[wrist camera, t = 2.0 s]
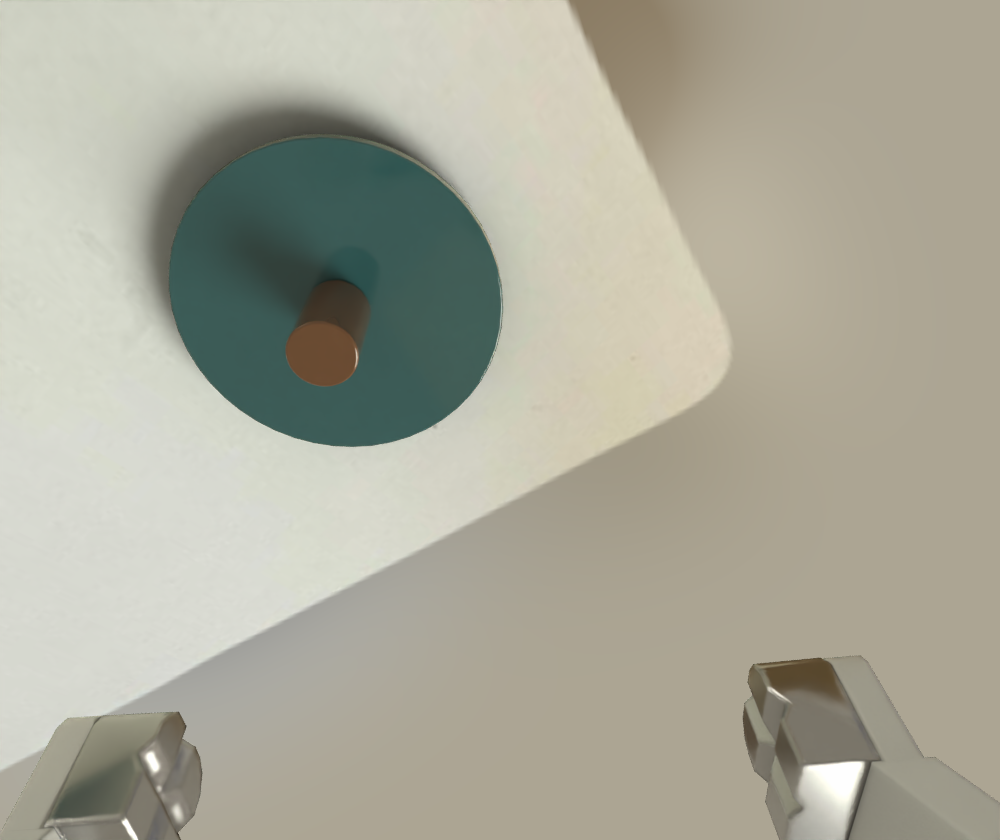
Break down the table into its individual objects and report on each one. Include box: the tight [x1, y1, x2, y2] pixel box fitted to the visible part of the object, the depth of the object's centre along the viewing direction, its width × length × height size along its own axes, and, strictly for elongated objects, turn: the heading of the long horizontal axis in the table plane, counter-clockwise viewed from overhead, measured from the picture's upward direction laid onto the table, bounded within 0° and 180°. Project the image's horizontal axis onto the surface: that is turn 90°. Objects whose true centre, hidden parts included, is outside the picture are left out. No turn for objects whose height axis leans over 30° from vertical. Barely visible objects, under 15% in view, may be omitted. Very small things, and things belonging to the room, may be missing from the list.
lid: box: [169, 134, 503, 447], centre depth 25 cm, size 11×11×5 cm
